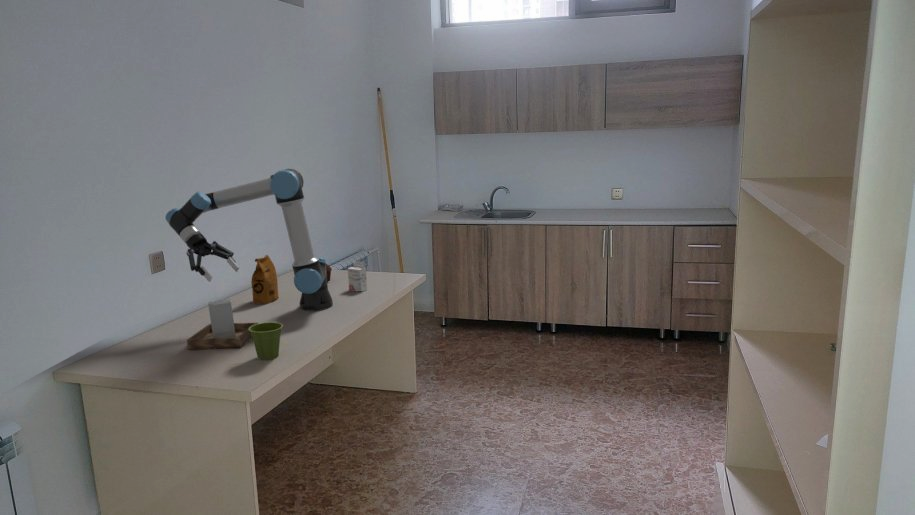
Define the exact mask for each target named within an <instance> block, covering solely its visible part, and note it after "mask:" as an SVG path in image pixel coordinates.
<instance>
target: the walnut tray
mask: <svg viewBox="0 0 915 515" xmlns="http://www.w3.org/2000/svg"><path fill="white" fill-rule="evenodd" d="M256 324H259V322H234V327H235V334H236V338H213V333H212V326H211V323H208V324H207V325H205V326H204V327H203V328H202V329H200V330H199V331H197V332H196V333H194V334H193V335H191V336H190V337H189V338H187V339H186V345H187V350H189V351H194V350H195V351H196V350H240V349H242V348H243V347H244V346H245V345H246V344H248V343H249V342H250V341H251V340H253V337H252V335H251V332H250V331H249V330H248V329H249V327H251V326H253V325H256Z"/></svg>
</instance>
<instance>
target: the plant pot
mask: <svg viewBox="0 0 915 515" xmlns="http://www.w3.org/2000/svg"><path fill="white" fill-rule="evenodd" d="M283 327H284V325H283V323H280V322H277V321H272V322H271V321H270V322H269V321H268V322H267V321H266V322H262V323H259V322H258V324H256V325H253V326H251V327H249V329H248V330H249V331H250V332H251V335H252V337H253V338H252V341H253V345H254V348H255V352H256V355H257V356H256V357H257V358H258V359H259V360H268V361H269V360H273V359H276V358H277V357H278V356H279V355H280V354H279V353H280V345H281V344H280V342H281V335H282V328H283Z"/></svg>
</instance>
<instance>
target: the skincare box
mask: <svg viewBox="0 0 915 515" xmlns="http://www.w3.org/2000/svg"><path fill="white" fill-rule="evenodd" d="M207 305H208V307H207V308H208V313H209V319H210V324H211V326H212V333H213V338H236V334H235V327H234V323H235V322H234V314H233V307H232V302H231V300H230V298H227V299H222V300H216V301H208V303H207Z"/></svg>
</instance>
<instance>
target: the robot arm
mask: <svg viewBox="0 0 915 515" xmlns="http://www.w3.org/2000/svg"><path fill="white" fill-rule="evenodd" d="M303 187H304V178H303V175H302V173H300V172H299V171H298V170H296V169H295V168H294V169H293V168H285V169H281V170H277V172H275V173H274V174H271V175H270V176H269V177H268V178H265V179H260V180H257V181H251V182H248V183H245V184H240V185H236V186H233V187H229V188H224V189H220V190H217V191H212V192H209V193H204V192H202V191H197V192H195V193H194V194H193V195H191V197H190V198H189V199H188V200H187V201H186V202H185V203H184V205H182V206H181V208H179V207H175V208H172V209H170V210H169V211H167V213H166V214H165V221H166V222H167V223H168V225H169V226H170V228H171V229H173V231H174V232H175V233H176V234H177V235H178V236H179V238H180V239H181V240H182V241H183V242H184V243H185V244H186V245H187V247H188V248H187V251H186V256H187V257H188V261H189V267H190V270H191V271H192V272H194V271H195V272H196V273H199V274H200V275H201V276H203V277H204V278H205V279H206V281H208V283H209V282H212V280H213V276H212V275H211V273H209V271H208V270H207V269H206V268H205V267H204V266H203V265H202V257H203V258H204V257H206V256H210V255H211V256H216V257H219V258H222V259H224V260H226V263H227V264H228V265H229V266H230V267H231V268H232V269H233V271H235V273H237V272H238V271H239V269H240V266H239V265H238V264H237V263H236V260H235V258H233V256H234V254H235V253H234V252H233V251H232V250H230V249H227V248H226V247H224V246H223V245H220V244H219V243H218V242H217V241H216V240H213V241H212V243H209V242H208V240H207V238H206V237H205V236H204V235H203V234H202V233H201V231H200V230H199V228H198V227H196V226H195V224H194V223H195V221H196V220H197V219H198V218H200V216H201V215H203V214H204V213H207V212H209V211H210V212H211V211H215V210H219V209H222V208H226V207H230V206H234V205H238V204H242V203H247V202H250V201H255V200H258V199H262V198H265V197H269V196H274V197H275V201H276V205H278V206H280V207H281V211H282V215H283V219H284V222H285V227H286V231H287V235H288V238H289V243H290V247H291V251H292V255H293V259H294V261H293V263H292V265H291V266H292V270H293V274H294V276H293V284H294V286H295V288H296V289H297V290H298V292H300V293H301V294H300V300H299V309H300V310H303V311H319V310H320V309H321V310H326V309H329V308H331V307H333V305H334V304H333V303H334V302H333V299H332V296H331V294H330V291H329V288H328V287H329V286H328V282H327V272H326V264H327V262H326V261H327V260H326V258H324V257H316V256H315V254H314V249H313V246H312V240H311V236H310V233H309V229H308V224H307V220H306V216H305V211H304V207H303V204H302V203H303V201H304V200H305V197H304V196H305V195H304V192H303ZM194 254H195V255H197V256H196V262H195V256H194ZM328 307H329V308H328ZM325 308H326V309H325Z"/></svg>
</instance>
